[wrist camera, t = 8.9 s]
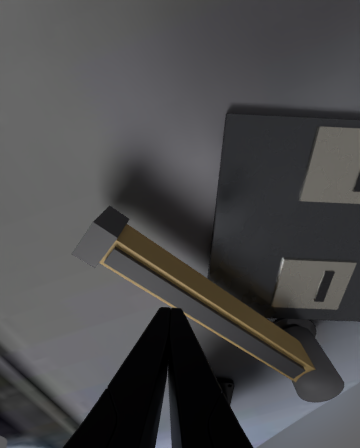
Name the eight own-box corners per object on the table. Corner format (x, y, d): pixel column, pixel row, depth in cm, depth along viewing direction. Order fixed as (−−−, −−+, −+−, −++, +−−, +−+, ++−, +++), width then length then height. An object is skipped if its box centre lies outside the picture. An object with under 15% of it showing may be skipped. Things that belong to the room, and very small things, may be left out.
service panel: (368, 352, 23) (375, 361, 22) (199, 346, 23) (200, 354, 22) (491, 127, 15) (510, 126, 14) (225, 114, 14) (228, 113, 14)
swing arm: (320, 337, 21) (353, 386, 17) (291, 357, 22) (316, 407, 18) (118, 195, 16) (96, 215, 12) (94, 230, 17) (66, 260, 13)
